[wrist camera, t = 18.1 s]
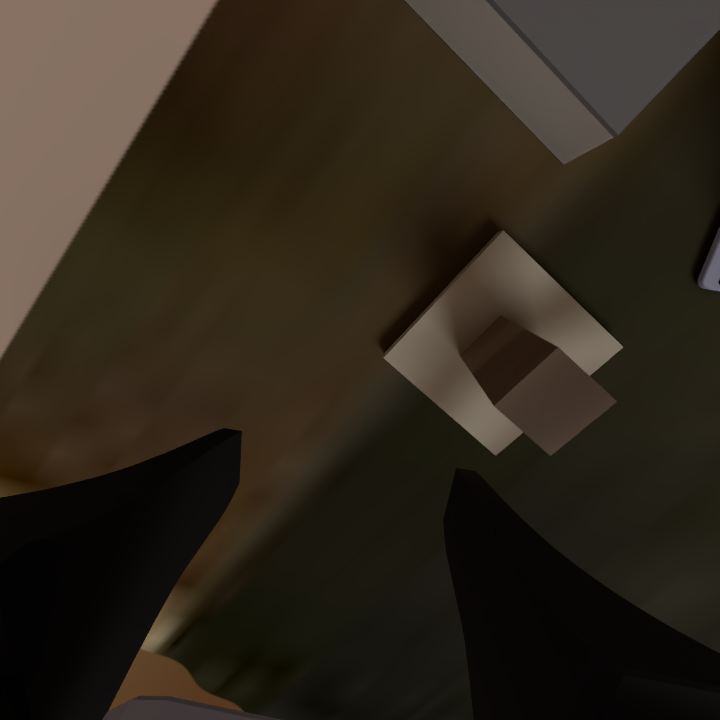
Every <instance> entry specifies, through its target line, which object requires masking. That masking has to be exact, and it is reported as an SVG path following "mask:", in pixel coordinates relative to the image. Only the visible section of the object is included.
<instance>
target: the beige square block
mask: <svg viewBox="0 0 720 720" xmlns="http://www.w3.org/2000/svg"><path fill="white" fill-rule="evenodd" d="M499 316H502V317H504V318H506V319H507V320H509V321H511V322H513V323H515V324H517V325H519V326H520V327H522V328H524V329H526V330H528V331H530V332H531V333H533V334H535V335H537V336H539V337H541V338H543V339H544V340H546V341H548V342H550V343H552V344H554V345H555V346H557V347H559V348H560V349H561V350H562V351H563V352H564V353H565V354H566V355H567V356H569V357H570V358H571V359H572V360H573V361H574V362H575V363H576V364H577V365H578V366H579V367H580V368H581V369H582V370H584V371H585V372H586V373H587V374H588V375H589V376H590V375H591V374H592V373H593V372H595V371H596V370H597V369H598V368H599V367H601V366H602V365H603V364H604V363H605V362H606V361H608V360H609V359H610V358H611V357H612V356H613V355H615V354H616V353H617V352H618V351H619V350H621V349H622V348H623V346H622V345H620V344H619V343H618V342H617V341H616V340H615V339H614V338H613V337H612V336H611V335H610V334H609V333H608V332H607V331H606V330H605V329H604V328H603V327H602V326H601V325H600V324H599V323H598V322H597V321H596V320H595V319H594V318H593V317H592V316H591V315H590V314H589V313H588V312H587V311H586V310H585V309H584V308H583V307H582V306H580V305H579V304H578V303H577V302H576V301H575V300H574V299H573V298H572V297H571V296H570V295H569V294H568V293H567V292H566V291H565V290H564V289H563V288H562V287H561V286H560V285H559V284H558V283H557V282H556V281H555V280H554V279H553V278H552V277H551V276H550V275H549V274H548V273H547V272H546V271H545V270H544V269H543V268H542V267H541V266H539V265H538V264H537V263H536V262H535V261H534V260H533V259H532V258H531V257H530V256H529V255H528V254H527V253H526V252H525V251H524V250H523V249H522V248H521V247H520V246H519V245H518V244H517V243H516V242H515V241H514V240H513V239H512V238H511V237H510V236H509V235H508V234H507V233H506V232H505V231H504V230H503V231H499V232H497V233H496V234H495V235H494V236H493V237H492V239H491V240H490V241H489V242H488V243H487V244H486V245H485V246H484V247H483V248H482V249H481V250H480V251H479V252H478V253H477V255H476V256H475V257H474V258H473V259H472V260H471V261H470V262H469V263H468V264H467V265H466V266H465V267H464V268H463V270H462V271H461V272H460V273H459V274H458V275H457V276H456V277H455V278H454V279H453V280H452V281H451V282H450V283H449V284H448V286H447V287H446V288H445V289H444V290H443V291H442V292H441V293H440V294H439V295H438V296H437V297H436V298H435V299H434V301H433V302H432V303H431V304H430V305H429V306H428V307H427V308H426V309H425V310H424V311H423V312H422V313H421V314H420V315H419V317H418V318H417V319H416V320H415V321H414V322H413V323H412V324H411V325H410V326H409V327H408V328H407V329H406V330H405V332H404V333H403V334H402V335H401V336H400V337H399V338H398V339H397V340H396V341H395V342H394V343H393V344H392V345H391V346H390V348H389V349H388V350H387V351H386V352H385V353H384V359H385V360H386V361H387V362H389V363H390V364H391V365H392V366H393V367H394V368H396V369H397V370H398V371H399V372H400V373H401V374H402V375H404V376H405V377H406V378H407V379H408V380H409V381H410V382H412V383H413V384H414V385H415V386H416V387H417V388H419V389H420V390H421V391H422V392H423V393H424V394H425V395H427V396H428V397H429V398H430V399H431V400H432V401H433V402H435V403H436V404H437V405H438V406H439V407H440V408H442V409H443V410H444V411H445V412H446V413H447V414H448V415H450V416H451V417H452V418H453V419H454V420H455V421H456V422H458V423H459V424H460V425H461V426H462V427H463V428H465V429H466V430H467V431H468V432H469V433H470V434H471V435H473V436H474V437H475V438H476V439H477V440H478V441H479V442H481V443H482V444H483V445H484V446H485V447H486V448H488V449H489V450H490V451H491V452H492V453H493V454H494V455H497V454H498V453H499V452H500V451H502V450H503V449H504V448H505V447H506V446H508V445H509V444H510V443H511V442H512V441H513V440H515V439H516V438H517V437H518V436H519V435H520V434H522V433H523V431H522V430H520V429H519V428H518V427H517V426H516V425H515V424H514V423H512V422H511V421H510V420H509V419H508V418H507V417H506V416H505V415H503V414H502V413H501V412H500V411H499V410H498V409H497V408H495V407H494V406H493V404H492V403H491V401H490V400H489V398H488V397H487V395H486V394H485V392H484V391H483V389H482V388H481V386H480V385H479V383H478V382H477V381H476V379H475V378H474V376H473V375H472V373H471V372H470V370H469V369H468V367H467V366H466V364H465V363H464V361H463V360H462V358H461V357H460V355H461V354H462V353H463V352H464V351H465V350H466V349H467V348H468V347H469V346H470V345H471V344H472V343H473V342H474V341H475V340H476V339H477V338H478V337H479V336H480V335H481V334H482V333H483V332H484V331H485V330H486V329H487V328H488V327H489V326H490V325H491V324H492V323H493V322H494V321H495V320H496V319H497V318H498V317H499Z"/></svg>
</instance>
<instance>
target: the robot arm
mask: <svg viewBox="0 0 720 720" xmlns="http://www.w3.org/2000/svg"><path fill="white" fill-rule="evenodd" d="M719 279H720V227H719V229H718V232H717V234H716V237H715V239H714V241H713V244H712V246H711V248H710V251H709V253H708V256H707V258H706V260H705V263H704V265H703V267H702V270H701V272H700V275H699V277H698V285H699V286H700V287H701V288H703V289H708V290H715V291H720V285H719V283H718V282H719ZM241 436H242V431H238V430H232V429H226V428H223V429H220V430H218V431H215V432H213V433H210V434H208V435H206V436H203V437H201V438H199V439H197V440H194V441H192V442H190V443H188V444H185V445H183V446H181V447H178V448H176V449H174V450H172V451H169V452H167V453H164V454H162V455H159V456H156V457H154V458H151V459H149V460H146V461H144V462H141V463H139V464H136V465H133V466H130V467H127V468H124V469H121V470H118V471H115V472H112V473H108V474H105V475H102V476H98V477H95V478H91V479H87V480H83V481H79V482H75V483H71V484H67V485H63V486H59V487H55V488H50V489H45V490H40V491H35V492H30V493H25V494H19V495H13V496H8V497H2V498H0V720H280V719H275V718H270V717H265V716H261V715H256V714H251V713H246V712H242V711H237V710H232V709H227V708H223V707H218V706H213V705H208V704H204V703H198V702H194V701H189V700H185V699H180V698H175V697H168V696H165V697H164V696H138V697H136V698H134V699H131V700H129V701H127V702H125V703H123V704H121V705H119V706H117V707H116V708H114V709H112V710H110V711H108V710H109V708H110V706H111V704H112V702H113V700H114V698H115V696H116V694H117V692H118V690H119V688H120V686H121V684H122V682H123V680H124V678H125V676H126V674H127V673H128V671H129V669H130V667H131V665H132V663H133V661H134V659H135V657H136V655H137V653H138V651H139V649H140V647H141V646H142V644H143V642H144V640H145V638H146V636H147V634H148V633H149V631H150V629H151V627H152V625H153V623H154V621H155V619H156V618H157V616H158V614H159V612H160V611H161V609H162V607H163V605H164V603H165V602H166V600H167V598H168V596H169V595H170V593H171V591H172V589H173V587H174V586H175V584H176V582H177V581H178V579H179V578H180V576H181V575H182V573H183V571H184V570H185V568H186V567H187V566H188V564H189V563H190V561H191V560H192V558H193V557H194V555H195V554H196V553H197V551H198V550H199V548H200V547H201V545H202V544H203V542H204V541H205V540H206V538H207V537H208V535H209V534H210V532H211V531H212V529H213V528H214V527H215V525H216V524H217V522H218V521H219V519H220V518H221V516H222V515H223V513H224V512H225V510H226V508H227V507H228V505H229V503H230V501H231V499H232V497H233V495H234V493H235V491H236V489H237V487H238V485H239V479H240V457H241ZM443 521H444V534H445V545H446V553H447V558H448V562H449V567H450V572H451V577H452V581H453V586H454V590H455V595H456V599H457V604H458V609H459V613H460V618H461V622H462V628H463V634H464V639H465V646H466V655H467V663H468V671H469V679H470V688H471V698H472V707H473V716H474V720H720V654H719V653H717V652H716V651H714V650H712V649H710V648H708V647H706V646H705V645H703V644H701V643H699V642H697V641H695V640H693V639H692V638H690V637H688V636H686V635H684V634H682V633H681V632H679V631H677V630H675V629H673V628H671V627H670V626H668V625H666V624H664V623H663V622H661V621H659V620H658V619H656V618H655V617H653V616H651V615H650V614H648V613H646V612H645V611H643V610H641V609H640V608H638V607H636V606H635V605H633V604H632V603H630V602H628V601H627V600H625V599H624V598H622V597H621V596H619V595H618V594H616V593H615V592H613V591H612V590H610V589H609V588H607V587H606V586H604V585H603V584H602V583H600V582H599V581H597V580H596V579H594V578H593V577H591V576H590V575H589V574H587V573H586V572H585V571H583V570H582V569H580V568H579V567H578V566H576V565H575V564H574V563H573V562H571V561H570V560H569V559H568V558H566V557H565V556H564V555H563V554H561V553H560V552H559V551H558V550H556V549H555V548H554V547H553V546H551V545H550V544H549V543H548V542H547V541H546V540H544V539H543V538H542V537H541V536H540V535H539V534H538V533H537V532H536V531H534V530H533V529H532V528H531V527H530V526H529V525H528V524H527V523H526V522H525V521H524V520H523V519H522V518H521V517H520V516H519V515H517V514H516V513H515V512H514V511H513V510H512V509H511V508H510V506H509V505H508V504H507V503H506V502H505V501H504V500H503V499H502V498H501V497H500V496H499V495H498V494H497V493H496V492H495V491H494V490H493V489H492V488H491V487H490V486H489V485H488V484H487V482H486V481H485V480H484V479H483V478H482V477H481V476H480V475H479V474H478V473H477V472H475V471H471V470H465V469H459V468H456V471H455V475H454V479H453V483H452V487H451V491H450V495H449V499H448V503H447V507H446V511H445V515H444V519H443Z"/></svg>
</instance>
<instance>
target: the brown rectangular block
mask: <svg viewBox="0 0 720 720" xmlns="http://www.w3.org/2000/svg"><path fill="white" fill-rule="evenodd" d="M460 357H461V358H462V360H463V361H464V363H465V364H466V366H467V367H468V369H469V370H470V372H471V373H472V375H473V376H474V378H475V379H476V381H477V382H478V383H479V385H480V386H481V388H482V389H483V391H484V392H485V394H486V395H487V397H488V398H489V400H490V401H491V403H492V404H493V406H494V407H495V408H497V409H498V410H499V411H500V412H501V413H502V414H503V415H505V416H506V417H507V418H508V419H509V420H510V421H511V422H512V423H514V424H515V425H516V426H517V427H518V428H519V429H520V430H522V431H523V432H524V433H525V434H526V435H527V436H528V437H530V438H531V439H532V440H533V441H534V442H535V443H536V444H538V445H539V446H540V447H541V448H542V449H543V450H544V451H546V452H547V453H548V454H549V455H550V456H551V455H552V454H553V453H555V452H556V451H557V450H558V449H559V448H561V447H562V446H563V445H564V444H566V443H567V442H568V441H569V440H571V439H572V438H573V437H574V436H575V435H577V434H578V433H579V432H580V431H582V430H583V429H584V428H585V427H586V426H588V425H589V424H590V423H591V422H593V421H594V420H595V419H596V418H597V417H599V416H600V415H601V414H602V413H604V412H605V411H606V410H607V409H608V408H610V407H611V406H612V405H613V404H615V403H616V402H617V401H616V400H615V399H614V398H613V397H612V396H610V395H609V394H608V393H607V392H606V391H605V390H604V389H603V388H602V387H601V386H600V385H599V384H598V383H596V382H595V381H594V380H593V379H592V378H591V377H590V376H589V375H588V374H587V373H586V372H585V371H584V370H582V369H581V368H580V367H579V366H578V365H577V364H576V363H575V362H574V361H573V360H572V359H571V358H570V357H569V356H567V355H566V354H565V353H564V352H563V351H562V350H561V349H560V348H559V347H557V346H555V345H554V344H552V343H550V342H548V341H546V340H544V339H543V338H541V337H539V336H537V335H535V334H533V333H531V332H530V331H528V330H526V329H524V328H522V327H520V326H519V325H517V324H515V323H513V322H511V321H509V320H507V319H506V318H504V317H502V316H499V317H498V318H497V319H496V320H495V321H494V322H493V323H492V324H491V325H490V326H489V327H488V328H487V329H486V330H485V331H484V332H483V333H482V334H481V335H480V336H479V337H478V338H477V339H476V340H475V341H474V342H473V343H472V344H471V345H470V346H469V347H468V348H467V349H466V350H465V351H464V352H463V353H462V354H461V355H460Z"/></svg>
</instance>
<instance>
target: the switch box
mask: <svg viewBox="0 0 720 720" xmlns="http://www.w3.org/2000/svg"><path fill="white" fill-rule="evenodd" d="M405 1H406V2H407V3H408V4H409V5H410V6H411V7H412V8H413V10H414V11H415V12H416V13H417V14H418V15H419V16H420V17H421V18H422V19H423V20H424V21H425V22H426V23H427V24H428V25H429V26H430V27H431V28H432V29H433V30H434V31H435V32H436V33H437V34H438V35H439V36H440V37H441V38H442V39H443V41H444V42H445V43H446V44H447V45H448V46H449V47H450V48H451V49H452V50H453V51H454V52H455V53H456V54H457V55H458V56H459V57H460V58H461V59H462V60H463V61H464V62H465V63H466V64H467V65H468V66H469V67H470V68H471V69H472V70H473V72H474V73H475V74H476V75H477V76H478V77H479V78H480V79H481V80H482V81H483V82H484V83H485V84H486V85H487V86H488V87H489V88H490V89H491V90H492V91H493V92H494V93H495V94H496V95H497V96H498V97H499V98H500V99H501V100H502V101H503V103H504V104H505V105H506V106H507V107H508V108H509V109H510V110H511V111H512V112H513V113H514V114H515V115H516V116H517V117H518V118H519V119H520V120H521V121H522V122H523V123H524V124H525V125H526V126H527V127H528V128H529V129H530V130H531V131H532V132H533V134H534V135H535V136H536V137H537V138H538V139H539V140H540V141H541V142H542V143H543V144H544V145H545V146H546V147H547V148H548V149H549V150H550V151H551V152H552V153H553V154H554V155H555V156H556V157H557V158H558V159H559V160H560V161H561V162H562V164H563V165H564V164H566V163H568V162H569V161H571V160H573V159H575V158H577V157H579V156H580V155H582V154H584V153H586V152H588V151H590V150H591V149H593V148H595V147H597V146H599V145H601V144H602V143H604V142H606V141H608V140H610V139H611V138H613V137H615V136H617V135H619V133H620V132H621V131H622V130H623V129H624V128H625V127H626V126H627V125H628V124H629V123H630V122H631V121H632V120H633V119H634V118H635V117H636V116H637V115H638V114H639V113H640V112H641V111H642V110H643V109H644V107H645V106H646V105H647V104H648V103H649V102H650V101H651V100H652V99H653V98H654V97H655V96H656V95H657V94H658V93H659V92H660V91H661V90H662V89H663V88H664V87H665V86H666V85H667V84H668V82H669V81H670V80H671V79H672V78H673V77H674V76H675V75H676V74H677V73H678V72H679V71H680V70H681V69H682V68H683V67H684V66H685V65H686V64H687V63H688V62H689V61H690V60H691V59H692V58H693V56H694V55H695V54H696V53H697V52H698V51H699V50H700V49H701V48H702V47H703V46H704V45H705V44H706V43H707V42H708V41H709V40H710V39H711V38H712V37H713V36H714V35H715V34H716V33H717V31H718V30H719V29H720V0H405Z"/></svg>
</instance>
